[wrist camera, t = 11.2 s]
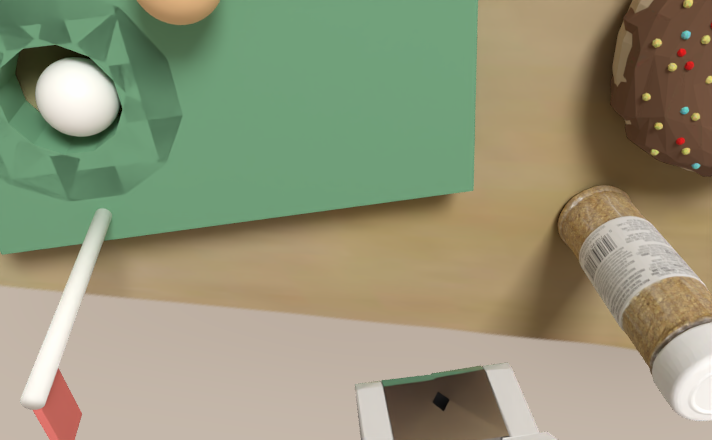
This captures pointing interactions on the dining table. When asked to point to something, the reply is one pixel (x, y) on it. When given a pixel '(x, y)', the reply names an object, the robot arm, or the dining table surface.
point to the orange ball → (179, 10)
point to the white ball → (77, 97)
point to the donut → (666, 80)
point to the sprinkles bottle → (646, 293)
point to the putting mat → (228, 128)
